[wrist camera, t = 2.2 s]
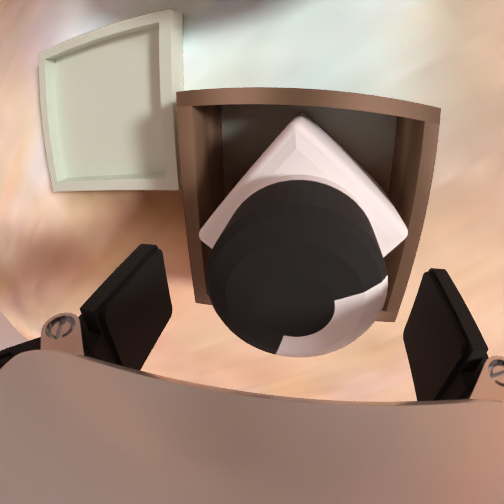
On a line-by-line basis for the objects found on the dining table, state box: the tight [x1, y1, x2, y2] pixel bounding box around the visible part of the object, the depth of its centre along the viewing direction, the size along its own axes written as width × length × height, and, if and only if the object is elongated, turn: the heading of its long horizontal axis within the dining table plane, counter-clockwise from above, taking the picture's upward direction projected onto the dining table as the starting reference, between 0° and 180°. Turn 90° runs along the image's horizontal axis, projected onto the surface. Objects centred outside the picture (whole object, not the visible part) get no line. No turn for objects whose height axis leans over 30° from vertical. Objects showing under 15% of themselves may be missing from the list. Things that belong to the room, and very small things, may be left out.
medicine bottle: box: [199, 113, 408, 357], centre depth 14 cm, size 7×7×12 cm
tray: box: [39, 9, 184, 192], centre depth 18 cm, size 12×12×2 cm
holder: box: [176, 87, 441, 322], centre depth 17 cm, size 13×13×5 cm
